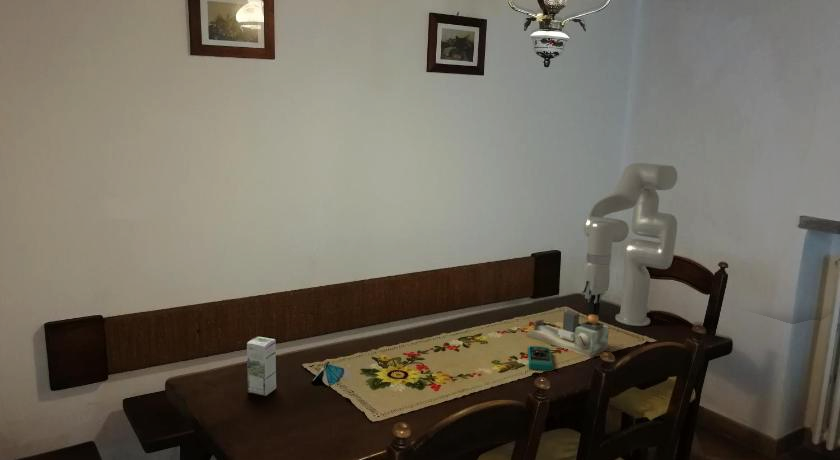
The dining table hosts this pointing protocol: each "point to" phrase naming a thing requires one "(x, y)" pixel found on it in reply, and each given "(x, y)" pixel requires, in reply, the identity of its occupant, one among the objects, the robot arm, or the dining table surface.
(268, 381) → the syrup box
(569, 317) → the carriage
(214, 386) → the dining table surface
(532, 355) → the digital multimeter
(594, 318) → the button
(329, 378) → the decorative butterfly
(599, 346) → the rail bed
